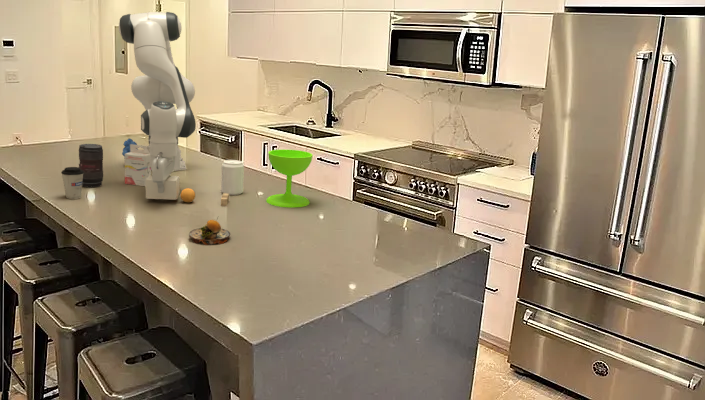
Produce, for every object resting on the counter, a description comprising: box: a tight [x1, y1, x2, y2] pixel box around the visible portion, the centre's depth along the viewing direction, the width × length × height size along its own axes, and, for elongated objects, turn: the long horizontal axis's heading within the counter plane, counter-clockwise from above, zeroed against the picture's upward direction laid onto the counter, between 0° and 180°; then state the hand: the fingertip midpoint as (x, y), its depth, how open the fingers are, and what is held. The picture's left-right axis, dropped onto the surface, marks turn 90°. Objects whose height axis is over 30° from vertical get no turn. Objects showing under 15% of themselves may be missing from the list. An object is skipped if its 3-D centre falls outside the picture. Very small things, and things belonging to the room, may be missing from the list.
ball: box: [179, 187, 196, 204], centre depth 208 cm, size 5×5×5 cm
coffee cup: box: [61, 166, 84, 200], centre depth 203 cm, size 7×7×10 cm
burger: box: [188, 217, 231, 246], centre depth 173 cm, size 12×12×8 cm
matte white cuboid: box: [145, 174, 181, 200], centre depth 206 cm, size 7×10×7 cm
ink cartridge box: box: [124, 144, 152, 187], centre depth 226 cm, size 9×5×15 cm, turn 84°
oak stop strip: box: [220, 192, 230, 207], centre depth 211 cm, size 8×2×2 cm, turn 6°
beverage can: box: [220, 159, 245, 196], centre depth 224 cm, size 8×8×12 cm
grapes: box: [121, 138, 138, 160], centre depth 253 cm, size 12×7×12 cm, turn 49°
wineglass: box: [265, 148, 313, 209], centre depth 218 cm, size 16×16×18 cm
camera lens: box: [78, 143, 104, 188], centre depth 219 cm, size 8×8×15 cm
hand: (163, 189), depth 207 cm, fingers closed on matte white cuboid, 7 cm apart
